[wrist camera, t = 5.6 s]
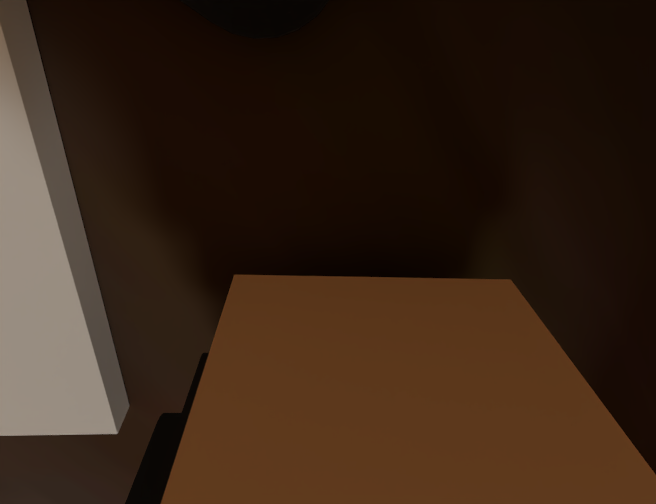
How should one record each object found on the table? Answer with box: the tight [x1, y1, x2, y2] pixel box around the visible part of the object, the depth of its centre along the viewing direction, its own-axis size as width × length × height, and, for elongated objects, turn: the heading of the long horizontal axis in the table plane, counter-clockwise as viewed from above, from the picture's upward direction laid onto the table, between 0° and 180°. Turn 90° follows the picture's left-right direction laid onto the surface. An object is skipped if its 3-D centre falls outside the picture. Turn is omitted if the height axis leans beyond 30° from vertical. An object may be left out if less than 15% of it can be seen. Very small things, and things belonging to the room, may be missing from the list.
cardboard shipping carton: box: [161, 275, 656, 504], centre depth 9 cm, size 6×6×6 cm
